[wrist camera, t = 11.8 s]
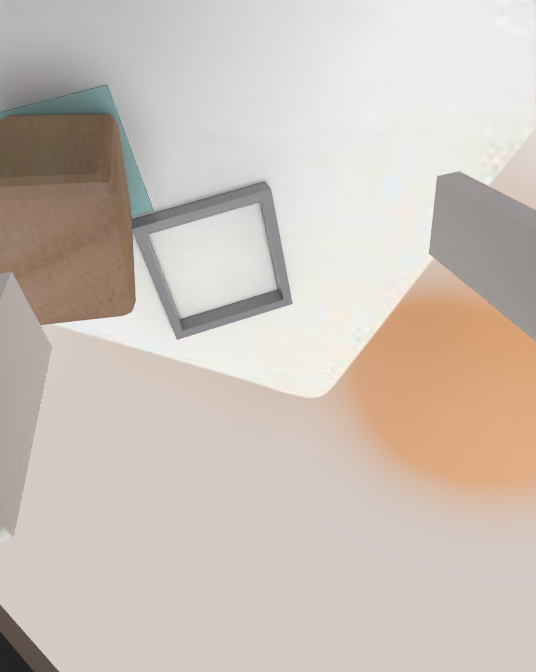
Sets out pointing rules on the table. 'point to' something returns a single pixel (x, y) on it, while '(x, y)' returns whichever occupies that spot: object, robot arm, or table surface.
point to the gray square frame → (201, 211)
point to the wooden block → (66, 216)
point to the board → (95, 104)
